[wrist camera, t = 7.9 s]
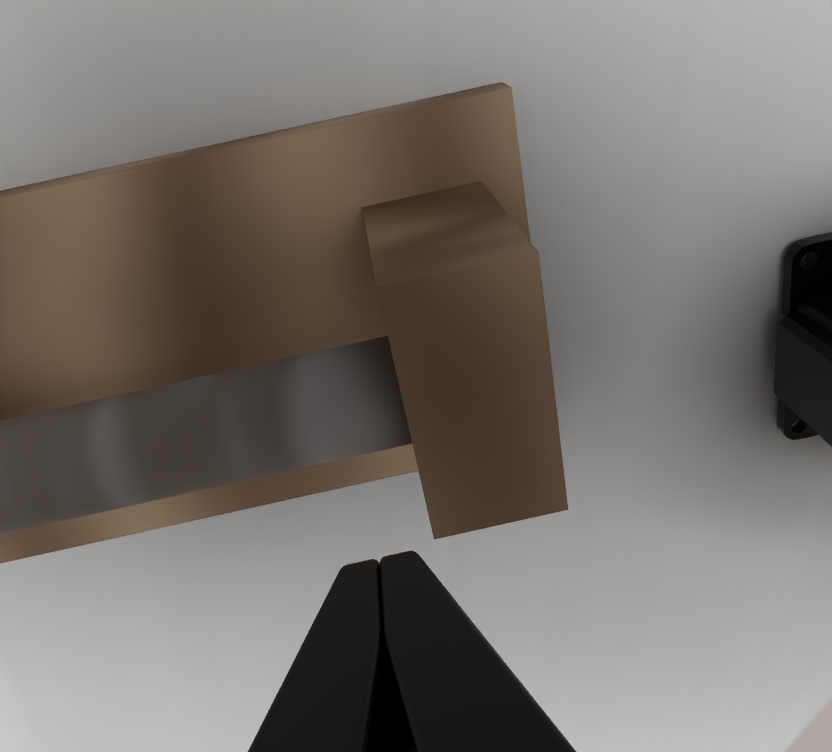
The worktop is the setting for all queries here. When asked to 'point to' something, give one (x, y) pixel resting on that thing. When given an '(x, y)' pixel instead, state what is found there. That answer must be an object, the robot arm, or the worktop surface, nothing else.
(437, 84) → the worktop surface
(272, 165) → the pipe stand
